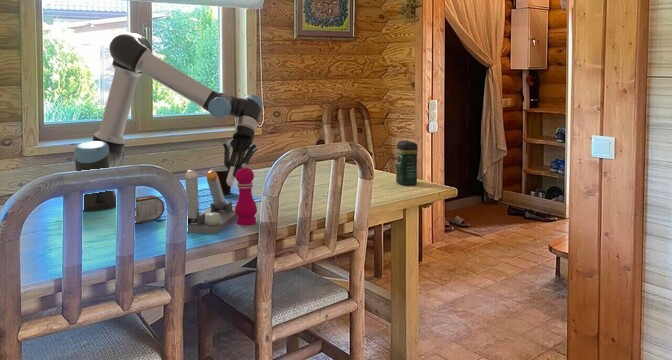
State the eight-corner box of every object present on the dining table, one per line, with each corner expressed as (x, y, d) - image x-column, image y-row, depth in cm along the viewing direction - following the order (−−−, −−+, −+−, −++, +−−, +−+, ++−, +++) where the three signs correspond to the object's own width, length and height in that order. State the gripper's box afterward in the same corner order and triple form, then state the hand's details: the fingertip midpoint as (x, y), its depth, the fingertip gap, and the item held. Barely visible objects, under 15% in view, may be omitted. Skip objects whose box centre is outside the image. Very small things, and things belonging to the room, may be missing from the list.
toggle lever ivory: (186, 224, 191) (183, 170, 188) (190, 221, 195) (187, 168, 191) (196, 224, 191) (193, 171, 187) (201, 221, 194) (198, 169, 191)
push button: (203, 225, 190) (203, 215, 189) (209, 221, 194) (208, 212, 193) (217, 225, 189) (216, 216, 188) (222, 222, 193) (221, 212, 193)
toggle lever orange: (215, 213, 207) (203, 175, 196) (218, 206, 210) (207, 168, 199) (225, 213, 207) (214, 175, 196) (228, 206, 209) (217, 168, 198)
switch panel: (180, 232, 190) (179, 216, 189) (211, 211, 215) (211, 197, 214) (216, 234, 188) (216, 218, 187) (244, 213, 213) (243, 199, 212)
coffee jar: (419, 185, 257) (420, 141, 254) (402, 186, 255) (403, 142, 252) (410, 180, 267) (411, 139, 263) (393, 182, 264) (394, 139, 261)
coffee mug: (228, 196, 239) (227, 171, 237) (208, 195, 241) (206, 170, 239) (239, 190, 250) (238, 166, 248) (219, 189, 252) (218, 165, 250)
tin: (161, 216, 209) (160, 193, 207) (166, 218, 207) (164, 194, 205) (119, 225, 199) (117, 200, 197) (123, 227, 197) (121, 201, 195)
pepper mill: (238, 219, 204) (236, 161, 200) (259, 220, 204) (257, 161, 200) (232, 225, 197) (230, 165, 193) (254, 226, 197) (252, 165, 193)
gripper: (264, 137, 229) (249, 190, 216) (231, 136, 232) (215, 188, 219) (258, 125, 223) (243, 178, 210) (225, 124, 226) (208, 177, 213)
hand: (229, 183), depth 215 cm, fingers closed
